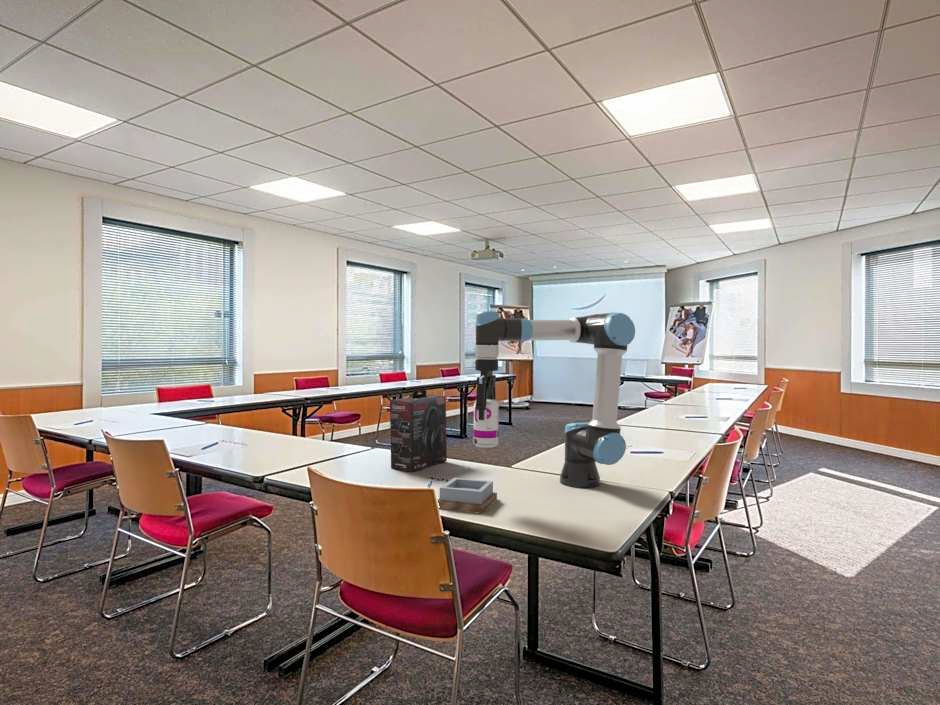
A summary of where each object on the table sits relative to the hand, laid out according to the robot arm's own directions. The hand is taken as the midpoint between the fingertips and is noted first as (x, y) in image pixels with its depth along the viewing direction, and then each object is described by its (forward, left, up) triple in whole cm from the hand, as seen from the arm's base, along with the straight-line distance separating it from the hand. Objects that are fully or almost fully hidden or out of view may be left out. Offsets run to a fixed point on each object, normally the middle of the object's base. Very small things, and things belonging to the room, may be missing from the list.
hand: (485, 427), depth 172 cm
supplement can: (0, 0, -6) cm, 6 cm away
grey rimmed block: (+7, 0, -23) cm, 24 cm away
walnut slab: (+6, 0, -26) cm, 27 cm away
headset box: (+44, -45, -26) cm, 68 cm away
